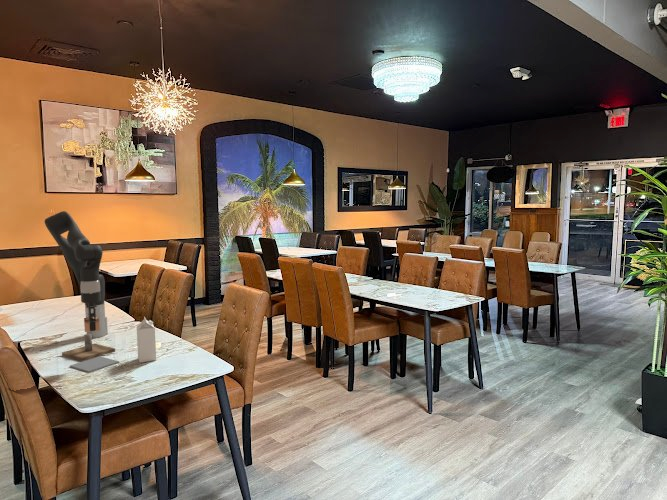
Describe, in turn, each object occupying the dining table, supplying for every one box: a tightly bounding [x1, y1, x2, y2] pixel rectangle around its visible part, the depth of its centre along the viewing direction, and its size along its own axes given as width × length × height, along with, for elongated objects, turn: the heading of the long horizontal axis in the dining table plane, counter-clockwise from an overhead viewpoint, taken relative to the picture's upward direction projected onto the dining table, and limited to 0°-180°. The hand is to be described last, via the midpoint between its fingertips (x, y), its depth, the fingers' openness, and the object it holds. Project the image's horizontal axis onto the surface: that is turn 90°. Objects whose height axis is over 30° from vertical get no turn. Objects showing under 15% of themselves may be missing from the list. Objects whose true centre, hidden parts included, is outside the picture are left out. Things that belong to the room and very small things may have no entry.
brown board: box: [61, 333, 116, 362], centre depth 216 cm, size 16×16×9 cm
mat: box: [69, 356, 120, 373], centre depth 201 cm, size 14×14×1 cm
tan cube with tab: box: [83, 317, 100, 333], centre depth 199 cm, size 6×6×6 cm
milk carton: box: [136, 316, 157, 363], centre depth 207 cm, size 7×7×19 cm
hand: (92, 328), depth 199 cm, fingers closed on tan cube with tab, 5 cm apart
